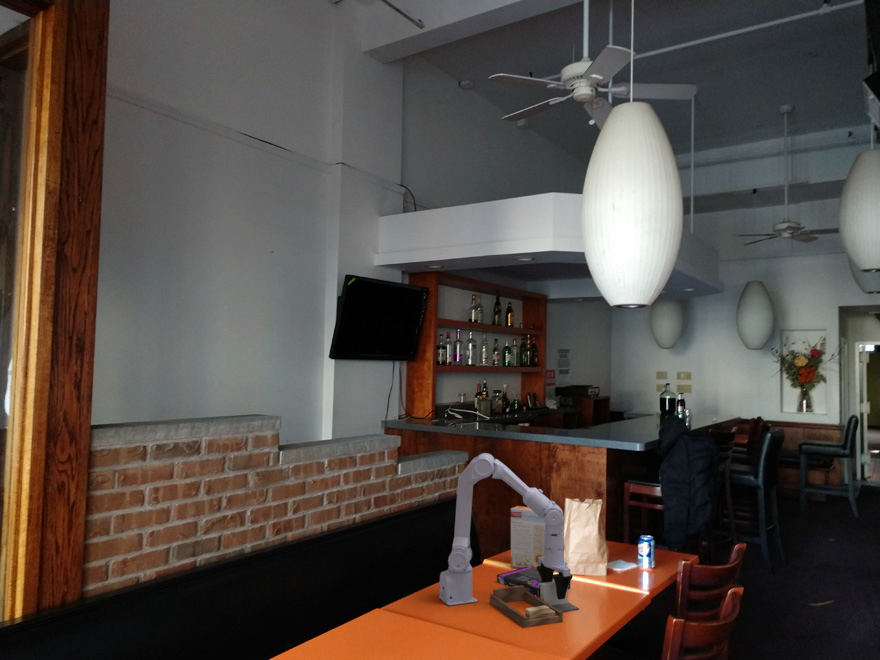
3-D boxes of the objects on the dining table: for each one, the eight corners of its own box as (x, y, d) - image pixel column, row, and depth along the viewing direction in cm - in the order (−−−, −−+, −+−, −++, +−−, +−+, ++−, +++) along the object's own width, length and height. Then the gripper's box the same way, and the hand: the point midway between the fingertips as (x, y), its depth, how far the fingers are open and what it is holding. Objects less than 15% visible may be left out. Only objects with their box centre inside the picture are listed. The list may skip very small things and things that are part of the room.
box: (496, 585, 218) (540, 599, 203) (496, 574, 218) (540, 587, 203) (526, 576, 227) (571, 590, 212) (526, 566, 227) (571, 578, 212)
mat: (551, 613, 189) (551, 612, 189) (530, 600, 200) (530, 599, 201) (578, 609, 193) (578, 608, 193) (556, 596, 204) (556, 595, 204)
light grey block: (544, 606, 194) (543, 585, 195) (540, 604, 196) (540, 583, 196) (567, 603, 197) (567, 582, 198) (564, 600, 199) (563, 580, 199)
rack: (524, 627, 179) (524, 612, 179) (490, 603, 198) (490, 589, 198) (562, 621, 183) (562, 606, 183) (525, 598, 202) (525, 584, 202)
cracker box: (554, 570, 231) (554, 509, 233) (547, 575, 226) (547, 512, 228) (517, 564, 239) (517, 504, 240) (510, 568, 234) (510, 507, 235)
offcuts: (527, 625, 180) (527, 611, 180) (522, 622, 183) (522, 608, 183) (556, 621, 183) (556, 607, 184) (551, 618, 186) (551, 604, 186)
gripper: (579, 552, 192) (579, 600, 192) (552, 540, 206) (553, 586, 205) (558, 554, 190) (558, 603, 189) (532, 542, 203) (532, 588, 202)
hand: (554, 594), depth 197 cm, fingers open, 7 cm apart
